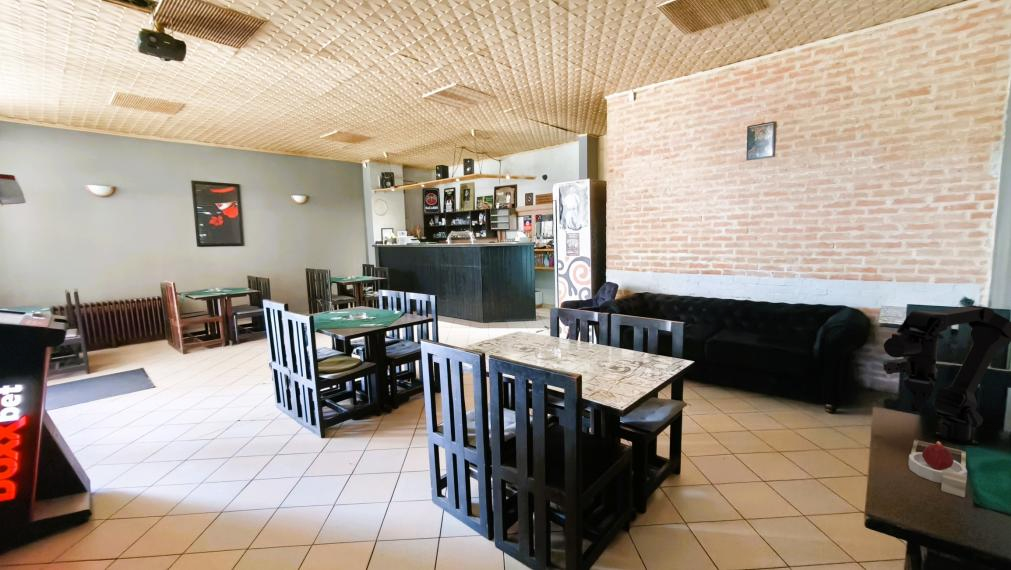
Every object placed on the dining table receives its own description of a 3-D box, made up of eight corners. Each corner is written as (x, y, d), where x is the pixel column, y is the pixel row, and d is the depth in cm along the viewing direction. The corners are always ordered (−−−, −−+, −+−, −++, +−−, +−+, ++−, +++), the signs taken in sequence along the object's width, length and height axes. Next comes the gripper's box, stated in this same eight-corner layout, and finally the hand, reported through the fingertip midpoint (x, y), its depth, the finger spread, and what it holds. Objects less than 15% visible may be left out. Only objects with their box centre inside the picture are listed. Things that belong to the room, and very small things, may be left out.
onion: (958, 477, 109) (961, 448, 108) (933, 475, 110) (936, 446, 109) (939, 464, 115) (942, 437, 114) (915, 463, 116) (918, 436, 115)
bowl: (941, 462, 117) (941, 452, 117) (977, 485, 107) (978, 474, 106) (898, 461, 119) (899, 451, 118) (931, 484, 108) (931, 473, 108)
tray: (914, 442, 128) (914, 439, 127) (965, 455, 120) (965, 451, 120) (910, 456, 121) (911, 452, 120) (965, 470, 113) (965, 466, 113)
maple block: (941, 484, 108) (942, 469, 108) (964, 490, 105) (965, 475, 105) (941, 491, 105) (942, 476, 105) (964, 497, 103) (966, 482, 102)
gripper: (889, 342, 135) (886, 388, 137) (881, 356, 123) (878, 406, 125) (939, 348, 127) (935, 397, 129) (936, 364, 114) (931, 417, 116)
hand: (918, 404), depth 125 cm, fingers open, 9 cm apart
